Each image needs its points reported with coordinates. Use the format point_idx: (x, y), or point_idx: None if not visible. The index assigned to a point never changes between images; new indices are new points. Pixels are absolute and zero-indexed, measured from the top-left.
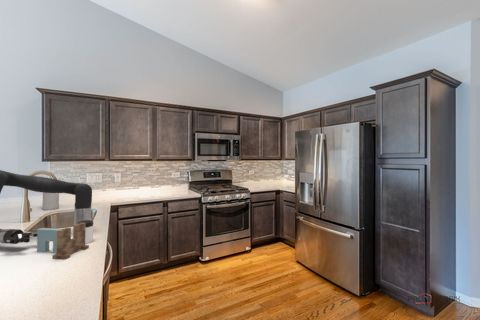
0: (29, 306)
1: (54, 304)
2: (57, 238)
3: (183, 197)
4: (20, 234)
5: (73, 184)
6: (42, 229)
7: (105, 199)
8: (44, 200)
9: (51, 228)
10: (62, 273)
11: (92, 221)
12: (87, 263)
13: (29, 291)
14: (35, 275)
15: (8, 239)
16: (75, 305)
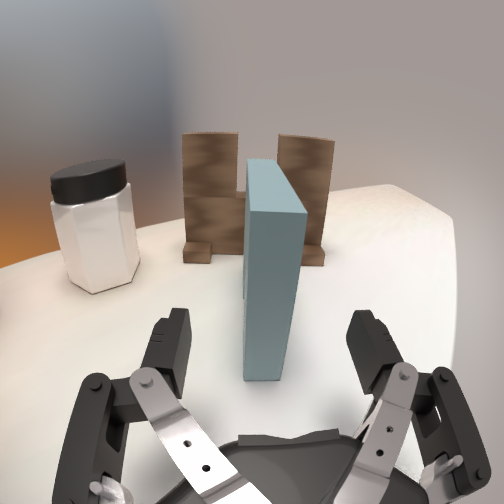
0: (431, 210)
1: (410, 200)
2: (330, 174)
3: None
4: (361, 468)
5: None
6: (295, 193)
7: None
8: None
9: (248, 179)
10: (366, 217)
11: (92, 161)
12: None
13: (426, 222)
14: (405, 241)
15: (477, 452)
16: (396, 191)
